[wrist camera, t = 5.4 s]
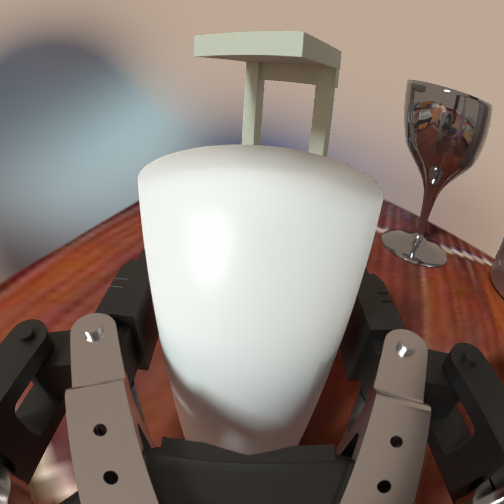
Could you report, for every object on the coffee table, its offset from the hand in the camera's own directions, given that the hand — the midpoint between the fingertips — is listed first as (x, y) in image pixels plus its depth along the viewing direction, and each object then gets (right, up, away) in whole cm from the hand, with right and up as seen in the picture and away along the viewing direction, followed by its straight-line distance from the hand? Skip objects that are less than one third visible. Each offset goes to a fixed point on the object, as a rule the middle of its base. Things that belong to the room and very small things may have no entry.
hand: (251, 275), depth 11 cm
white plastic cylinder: (0, -7, +1) cm, 7 cm away
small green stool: (+1, +5, +22) cm, 22 cm away
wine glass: (+16, +1, +17) cm, 23 cm away
